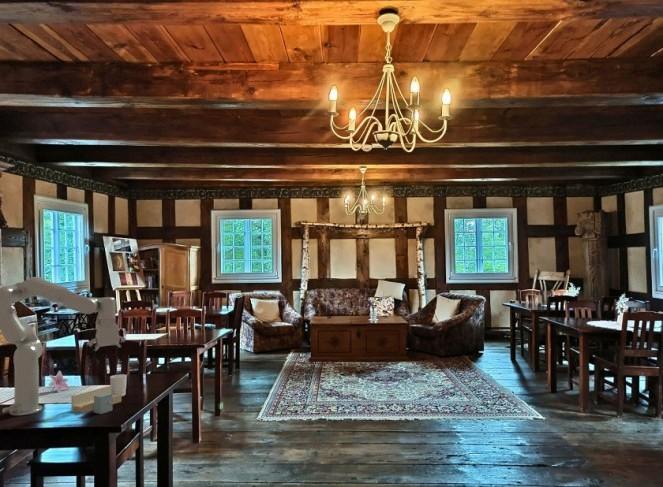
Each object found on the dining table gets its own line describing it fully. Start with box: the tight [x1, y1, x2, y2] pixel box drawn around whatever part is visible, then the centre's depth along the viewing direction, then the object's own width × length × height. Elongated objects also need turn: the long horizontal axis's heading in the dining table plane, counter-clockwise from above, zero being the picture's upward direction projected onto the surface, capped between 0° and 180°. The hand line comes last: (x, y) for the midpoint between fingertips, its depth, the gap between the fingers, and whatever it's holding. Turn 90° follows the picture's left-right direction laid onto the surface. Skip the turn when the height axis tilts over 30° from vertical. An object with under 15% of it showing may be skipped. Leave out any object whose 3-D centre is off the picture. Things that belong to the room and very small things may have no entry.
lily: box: [48, 370, 71, 393], centre depth 255 cm, size 12×12×10 cm
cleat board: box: [70, 385, 122, 414], centre depth 225 cm, size 20×9×7 cm, turn 152°
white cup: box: [109, 373, 128, 397], centre depth 243 cm, size 8×8×10 cm
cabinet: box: [93, 393, 114, 415], centre depth 217 cm, size 6×6×8 cm
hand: (107, 357), depth 231 cm, fingers open, 9 cm apart
